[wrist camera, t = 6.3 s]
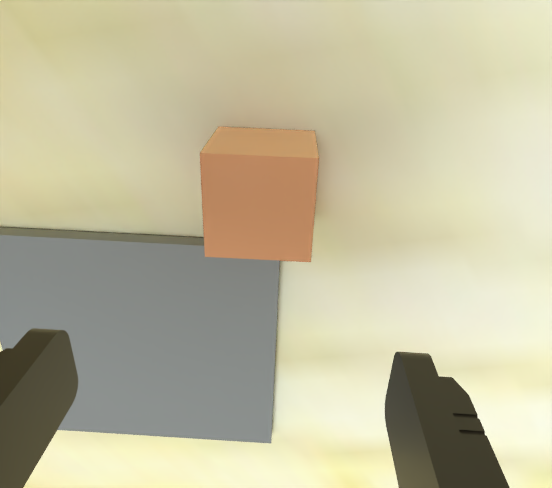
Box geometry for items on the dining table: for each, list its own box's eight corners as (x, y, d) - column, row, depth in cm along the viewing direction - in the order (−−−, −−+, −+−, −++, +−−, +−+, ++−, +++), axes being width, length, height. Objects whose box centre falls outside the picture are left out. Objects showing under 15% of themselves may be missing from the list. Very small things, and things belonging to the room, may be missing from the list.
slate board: (34, 416, 34) (27, 427, 33) (-23, 225, 26) (-34, 233, 25) (271, 431, 33) (271, 443, 32) (280, 241, 26) (280, 250, 25)
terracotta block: (220, 214, 25) (204, 256, 21) (218, 126, 23) (199, 153, 19) (308, 218, 25) (310, 262, 21) (314, 130, 23) (318, 158, 19)
